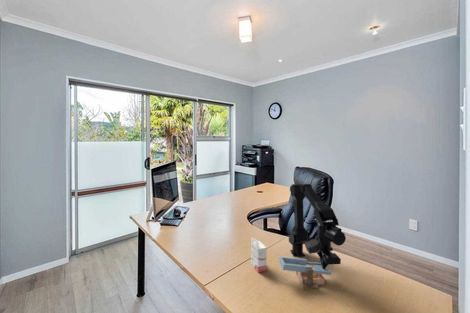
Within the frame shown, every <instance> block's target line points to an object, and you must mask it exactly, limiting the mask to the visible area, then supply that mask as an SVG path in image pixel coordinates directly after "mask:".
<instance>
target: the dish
mask: <svg viewBox="0 0 470 313" xmlns="http://www.w3.org/2000/svg"><path fill="white" fill-rule="evenodd" d="M296 276H297V278H298V279H299V282H300V283H301V285H302V286H303V284H307V273H306V272H298V273H297V275H296ZM325 280H326V278H325V277H324V276H323V274H318V277H317V278H313V284H317V285H318V286H325V285H326V284H325V283H326V282H325Z"/></svg>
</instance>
